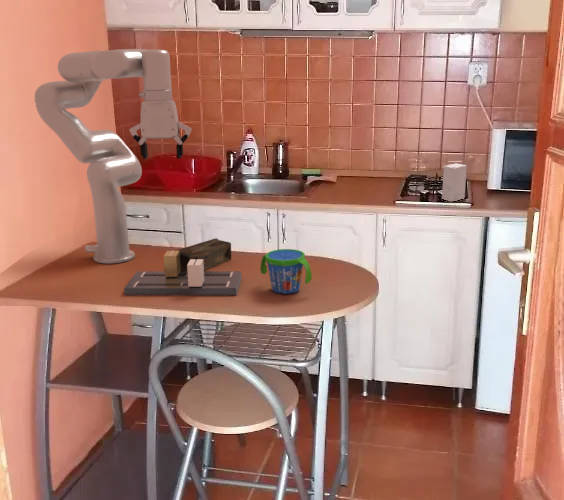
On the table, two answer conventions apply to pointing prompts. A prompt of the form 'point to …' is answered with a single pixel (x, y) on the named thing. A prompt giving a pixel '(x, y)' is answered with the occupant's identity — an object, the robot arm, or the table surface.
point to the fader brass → (172, 263)
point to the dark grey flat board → (183, 283)
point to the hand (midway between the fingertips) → (162, 158)
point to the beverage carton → (206, 253)
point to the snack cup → (286, 269)
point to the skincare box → (454, 182)
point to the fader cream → (195, 273)
